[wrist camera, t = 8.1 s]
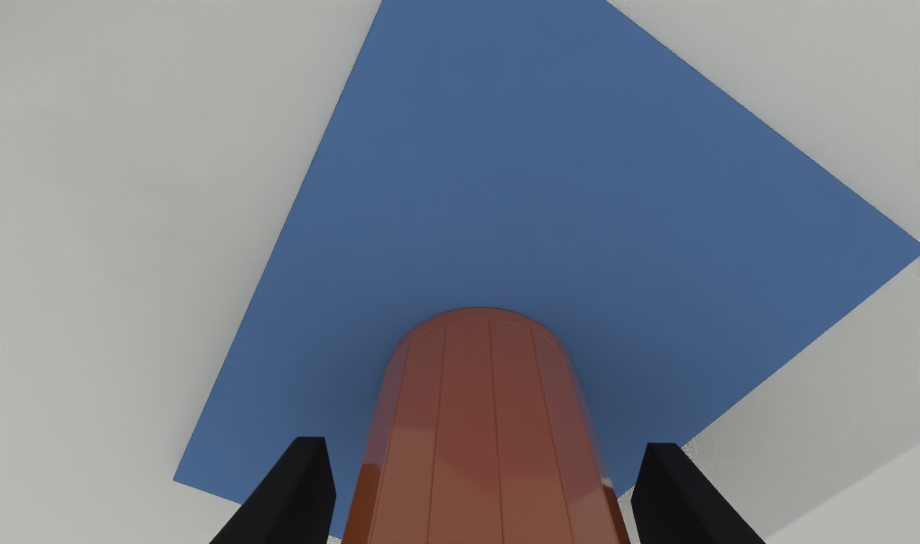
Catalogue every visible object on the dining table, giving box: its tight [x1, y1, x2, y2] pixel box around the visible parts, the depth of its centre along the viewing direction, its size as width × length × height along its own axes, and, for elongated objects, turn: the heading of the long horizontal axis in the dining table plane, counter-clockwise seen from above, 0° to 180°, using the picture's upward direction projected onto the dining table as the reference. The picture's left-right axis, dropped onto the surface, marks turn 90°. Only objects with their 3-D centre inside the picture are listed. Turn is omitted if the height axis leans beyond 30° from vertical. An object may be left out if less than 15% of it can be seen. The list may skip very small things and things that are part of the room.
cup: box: [341, 307, 631, 544], centre depth 9 cm, size 5×5×8 cm
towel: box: [173, 0, 920, 539], centre depth 13 cm, size 18×13×1 cm
